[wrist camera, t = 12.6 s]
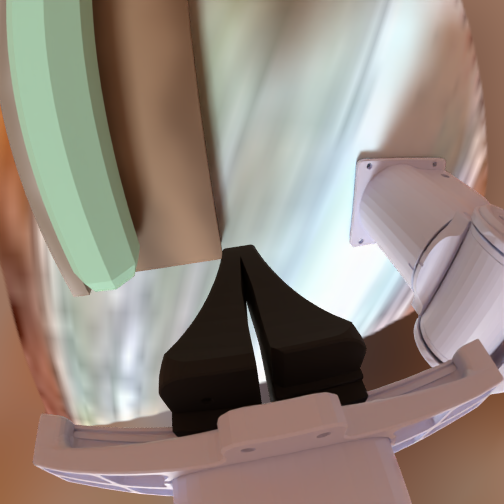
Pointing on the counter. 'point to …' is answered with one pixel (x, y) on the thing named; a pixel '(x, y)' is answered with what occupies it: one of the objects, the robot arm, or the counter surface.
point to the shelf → (140, 133)
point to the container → (70, 137)
